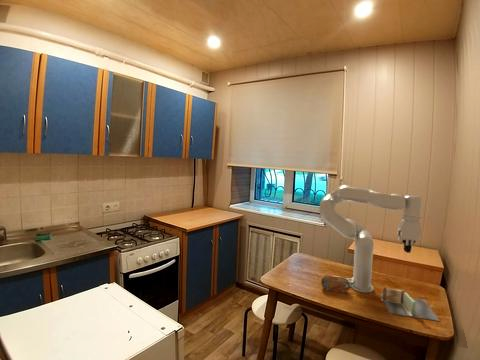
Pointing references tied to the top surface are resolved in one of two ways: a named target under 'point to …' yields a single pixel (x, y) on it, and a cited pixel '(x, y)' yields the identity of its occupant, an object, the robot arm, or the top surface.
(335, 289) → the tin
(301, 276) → the top surface
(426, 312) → the base
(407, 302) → the bar
